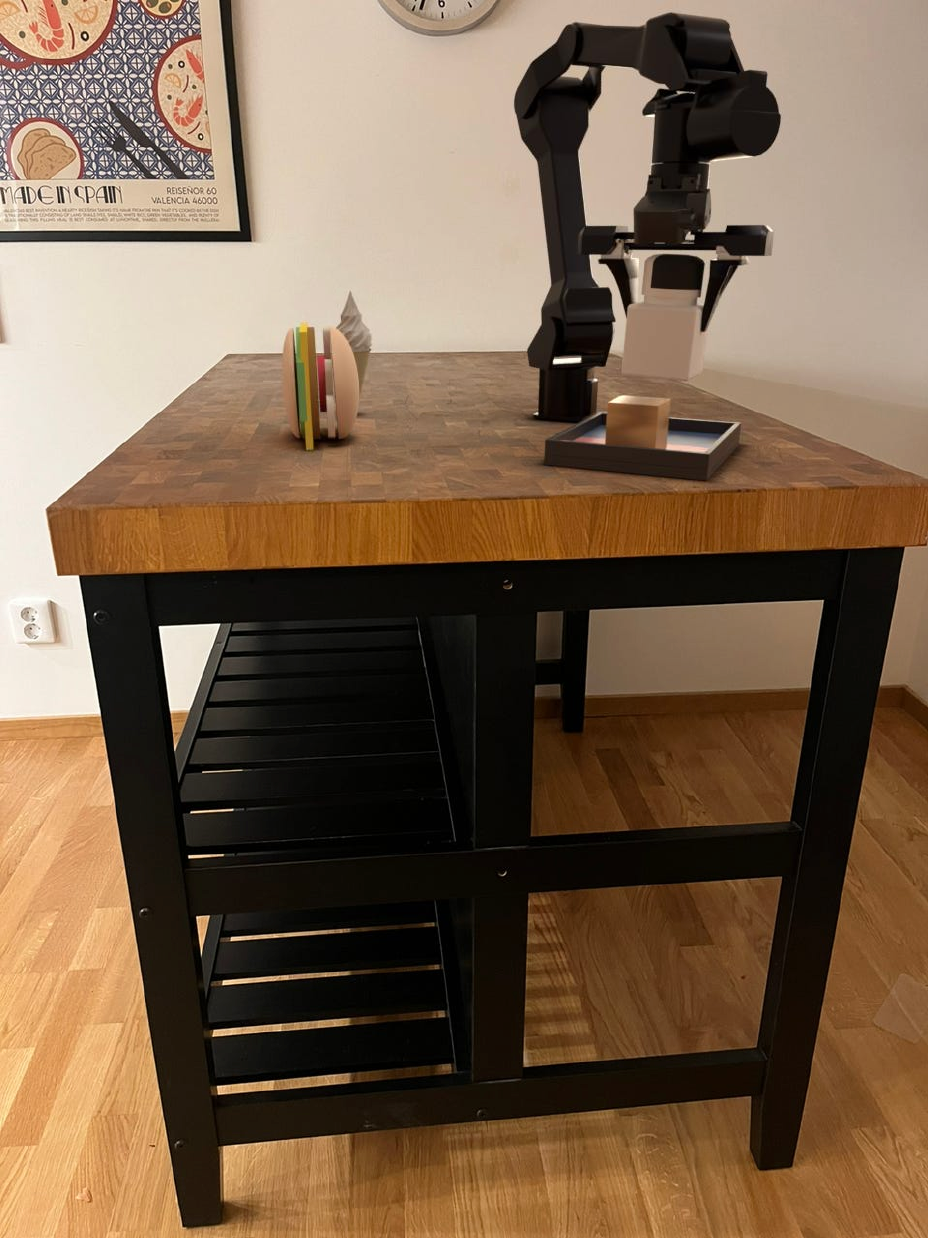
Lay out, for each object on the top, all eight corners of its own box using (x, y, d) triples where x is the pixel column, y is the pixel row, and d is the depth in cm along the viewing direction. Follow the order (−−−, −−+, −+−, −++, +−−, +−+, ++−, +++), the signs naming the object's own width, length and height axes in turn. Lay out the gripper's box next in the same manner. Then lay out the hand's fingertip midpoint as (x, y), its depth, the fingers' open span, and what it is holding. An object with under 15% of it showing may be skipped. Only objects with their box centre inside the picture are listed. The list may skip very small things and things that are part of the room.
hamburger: (363, 448, 99) (359, 331, 95) (284, 450, 98) (276, 332, 94) (358, 427, 110) (354, 322, 106) (287, 429, 109) (280, 322, 105)
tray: (544, 464, 92) (545, 439, 91) (597, 433, 107) (598, 411, 106) (706, 480, 86) (709, 454, 85) (738, 445, 101) (741, 422, 100)
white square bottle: (702, 374, 101) (717, 255, 96) (688, 382, 95) (703, 255, 90) (637, 368, 103) (649, 252, 99) (620, 375, 97) (632, 252, 93)
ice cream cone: (367, 418, 116) (363, 291, 110) (328, 417, 117) (322, 291, 111) (378, 412, 121) (375, 290, 115) (341, 410, 122) (336, 289, 116)
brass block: (604, 453, 91) (607, 402, 90) (618, 444, 96) (621, 395, 94) (654, 458, 89) (658, 405, 88) (666, 448, 94) (670, 398, 92)
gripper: (563, 161, 88) (557, 332, 94) (767, 154, 81) (746, 340, 87) (597, 169, 97) (589, 324, 103) (782, 164, 90) (763, 331, 96)
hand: (666, 330), depth 97 cm, fingers closed on white square bottle, 7 cm apart
